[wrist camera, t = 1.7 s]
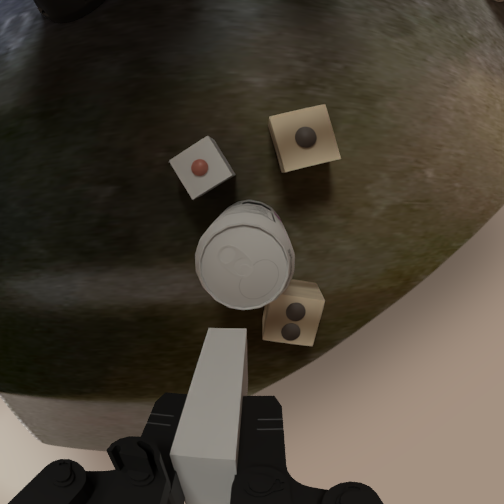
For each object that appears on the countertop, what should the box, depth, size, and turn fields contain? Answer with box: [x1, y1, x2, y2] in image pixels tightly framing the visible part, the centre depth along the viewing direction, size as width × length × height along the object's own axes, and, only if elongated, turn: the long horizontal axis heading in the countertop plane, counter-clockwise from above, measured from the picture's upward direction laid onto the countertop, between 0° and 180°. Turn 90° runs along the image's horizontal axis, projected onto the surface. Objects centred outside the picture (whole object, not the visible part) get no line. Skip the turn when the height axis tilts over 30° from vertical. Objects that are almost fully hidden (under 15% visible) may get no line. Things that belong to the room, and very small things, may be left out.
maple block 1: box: [268, 104, 341, 173], centre depth 33 cm, size 6×6×6 cm
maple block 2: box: [262, 279, 325, 346], centre depth 38 cm, size 6×6×6 cm
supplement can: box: [195, 200, 295, 310], centre depth 32 cm, size 8×8×15 cm
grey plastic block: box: [169, 136, 235, 200], centre depth 35 cm, size 5×5×5 cm
